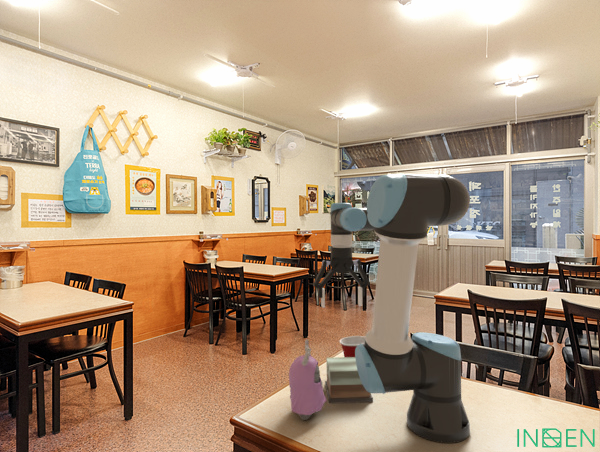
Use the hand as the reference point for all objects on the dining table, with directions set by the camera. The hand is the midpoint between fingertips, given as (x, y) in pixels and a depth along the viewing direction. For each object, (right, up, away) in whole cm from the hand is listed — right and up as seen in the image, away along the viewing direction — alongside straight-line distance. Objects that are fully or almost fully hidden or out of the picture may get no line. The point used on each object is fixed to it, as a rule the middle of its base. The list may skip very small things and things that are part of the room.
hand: (341, 306), depth 131 cm
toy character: (-13, -24, -29) cm, 40 cm away
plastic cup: (+5, -24, +1) cm, 25 cm away
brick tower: (0, -24, -16) cm, 28 cm away
